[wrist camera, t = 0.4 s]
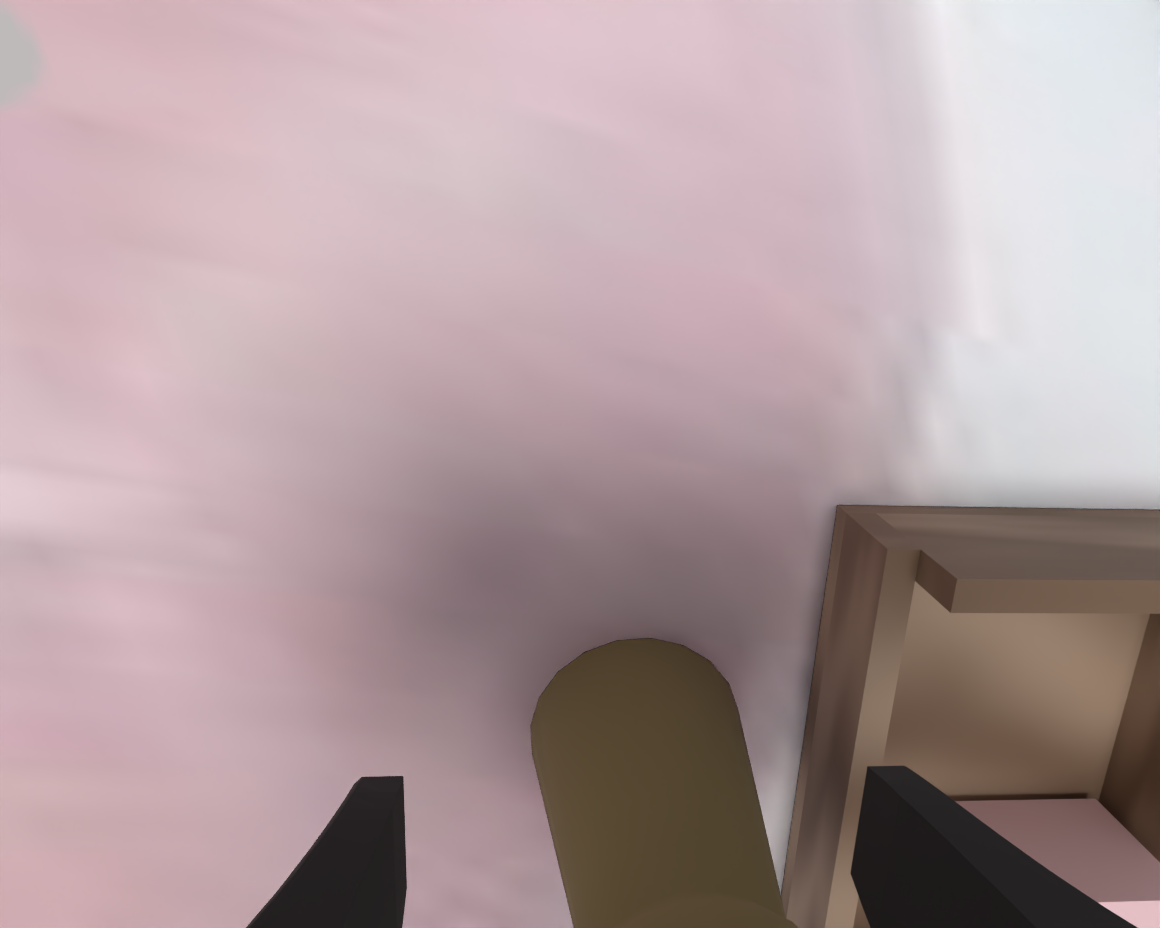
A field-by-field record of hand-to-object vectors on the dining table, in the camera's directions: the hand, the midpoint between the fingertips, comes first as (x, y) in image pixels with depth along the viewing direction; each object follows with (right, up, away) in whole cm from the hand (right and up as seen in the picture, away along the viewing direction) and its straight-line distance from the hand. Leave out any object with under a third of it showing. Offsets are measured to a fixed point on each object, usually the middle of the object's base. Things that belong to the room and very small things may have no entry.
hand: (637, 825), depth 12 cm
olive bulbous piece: (+1, -2, +11) cm, 11 cm away
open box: (+11, -3, +12) cm, 16 cm away
